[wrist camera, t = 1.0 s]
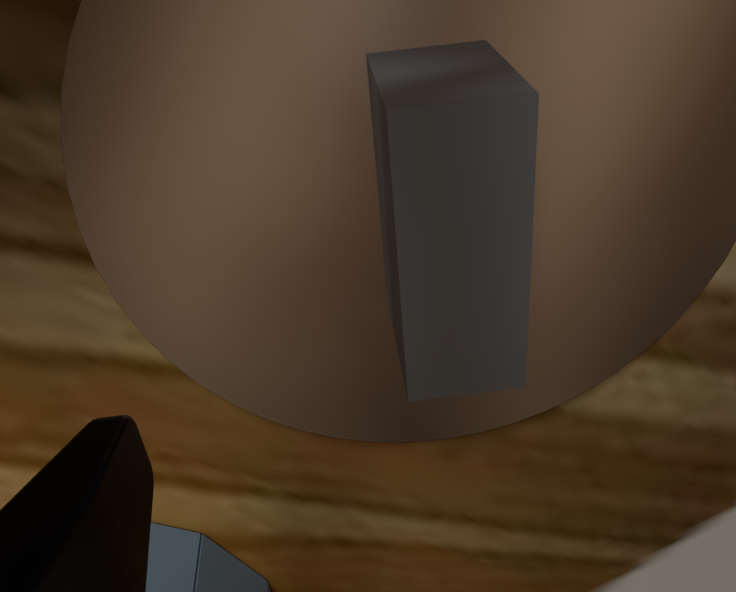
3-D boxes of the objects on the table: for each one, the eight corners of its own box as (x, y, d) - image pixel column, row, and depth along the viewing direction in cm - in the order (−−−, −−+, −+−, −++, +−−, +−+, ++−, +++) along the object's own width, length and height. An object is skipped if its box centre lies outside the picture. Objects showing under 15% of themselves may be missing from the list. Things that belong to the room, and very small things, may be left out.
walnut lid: (835, -295, 10) (1094, -363, 7) (691, 377, 18) (786, 503, 14) (-45, -205, 10) (-214, -231, 7) (172, 444, 17) (143, 590, 14)
